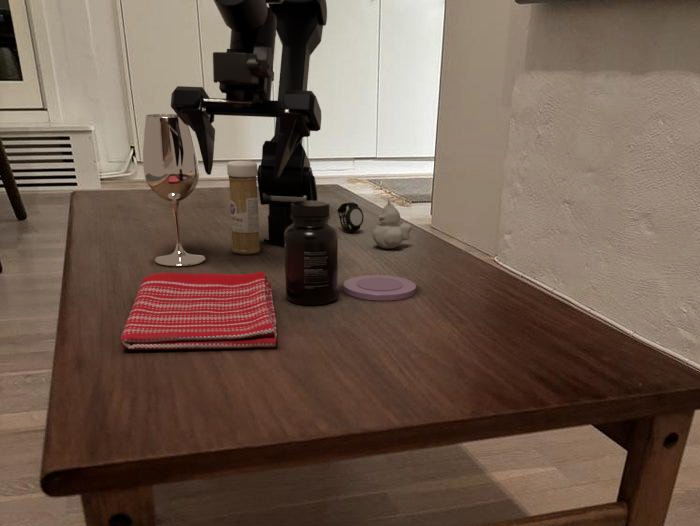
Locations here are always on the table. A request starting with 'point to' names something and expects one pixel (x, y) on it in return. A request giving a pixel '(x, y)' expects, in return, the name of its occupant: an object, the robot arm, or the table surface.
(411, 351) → the table surface
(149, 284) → the dish towel
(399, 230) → the rubber duck
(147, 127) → the wineglass
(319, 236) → the supplement bottle
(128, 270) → the table surface
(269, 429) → the table surface
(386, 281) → the saucer
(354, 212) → the smartwatch
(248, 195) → the sprinkles bottle
